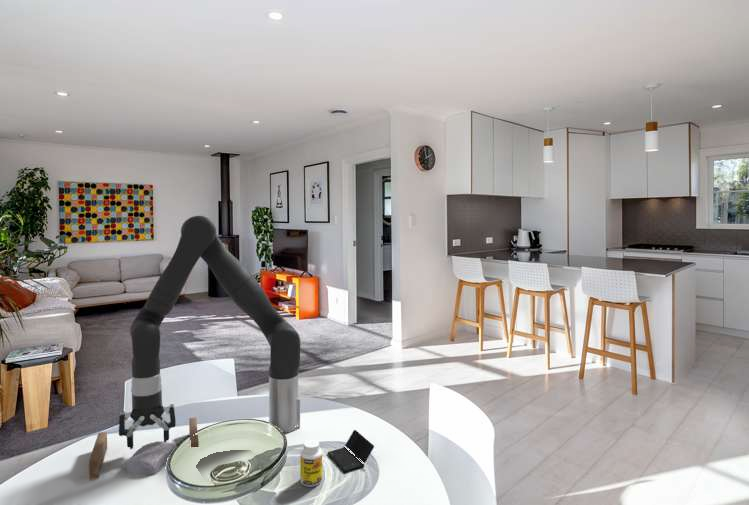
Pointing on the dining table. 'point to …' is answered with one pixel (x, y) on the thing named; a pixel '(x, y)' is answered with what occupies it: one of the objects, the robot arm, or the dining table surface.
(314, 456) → the supplement bottle
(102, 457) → the walnut chute
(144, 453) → the stone block
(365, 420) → the dining table surface
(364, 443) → the handheld gaming console
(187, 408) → the dining table surface
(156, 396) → the robot arm
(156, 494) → the dining table surface
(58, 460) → the dining table surface
